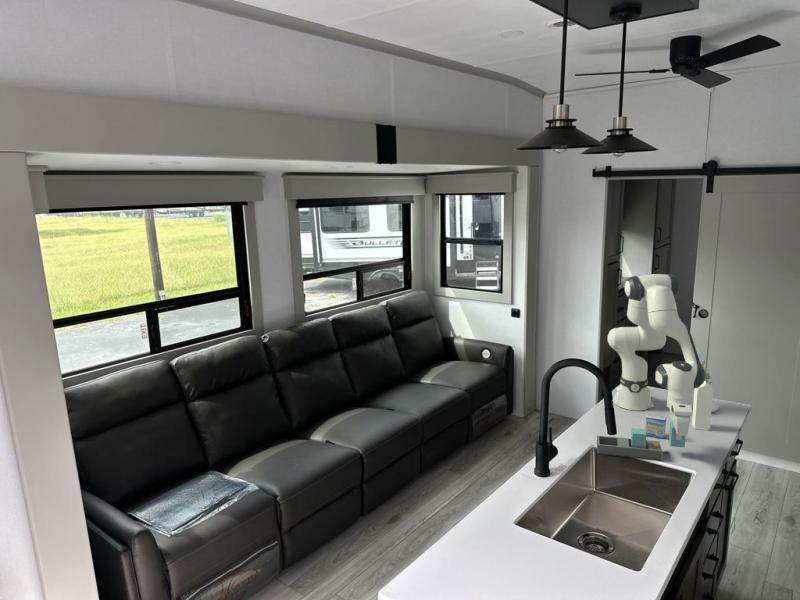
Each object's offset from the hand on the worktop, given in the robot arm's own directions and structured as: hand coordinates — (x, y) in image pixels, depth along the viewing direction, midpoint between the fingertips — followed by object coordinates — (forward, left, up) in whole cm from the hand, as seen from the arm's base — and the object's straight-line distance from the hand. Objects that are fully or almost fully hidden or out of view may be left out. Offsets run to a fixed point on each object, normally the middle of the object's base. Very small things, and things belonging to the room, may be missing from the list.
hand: (677, 435), depth 222 cm
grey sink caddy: (+3, -18, -8) cm, 20 cm away
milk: (-28, +14, -8) cm, 32 cm away
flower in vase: (-48, +19, -8) cm, 52 cm away
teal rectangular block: (0, 0, -4) cm, 4 cm away
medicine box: (-15, -6, -8) cm, 18 cm away
